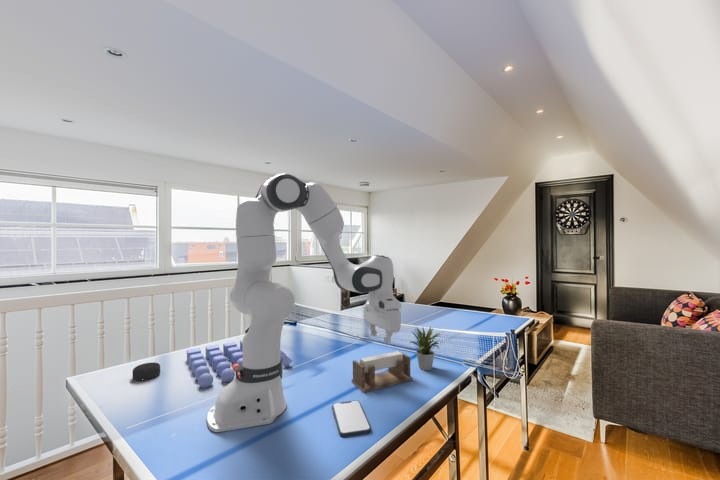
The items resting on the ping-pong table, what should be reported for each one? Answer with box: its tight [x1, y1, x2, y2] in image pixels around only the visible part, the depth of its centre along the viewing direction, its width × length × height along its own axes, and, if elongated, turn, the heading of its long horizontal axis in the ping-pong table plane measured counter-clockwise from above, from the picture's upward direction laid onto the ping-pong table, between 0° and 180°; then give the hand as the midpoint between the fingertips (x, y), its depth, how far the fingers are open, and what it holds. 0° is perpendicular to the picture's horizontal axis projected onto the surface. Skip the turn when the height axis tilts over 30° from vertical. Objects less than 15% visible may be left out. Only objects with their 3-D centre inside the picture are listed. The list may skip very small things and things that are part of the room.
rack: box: [351, 351, 413, 393], centre depth 119 cm, size 20×9×8 cm, turn 118°
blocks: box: [186, 339, 293, 389], centre depth 137 cm, size 35×34×5 cm
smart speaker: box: [132, 362, 161, 381], centre depth 125 cm, size 9×9×4 cm
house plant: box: [409, 325, 443, 371], centre depth 130 cm, size 14×14×16 cm
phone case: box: [331, 400, 372, 438], centre depth 94 cm, size 9×2×16 cm
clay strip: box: [359, 350, 404, 373], centre depth 119 cm, size 16×3×4 cm, turn 118°
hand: (380, 339), depth 118 cm, fingers open, 8 cm apart
